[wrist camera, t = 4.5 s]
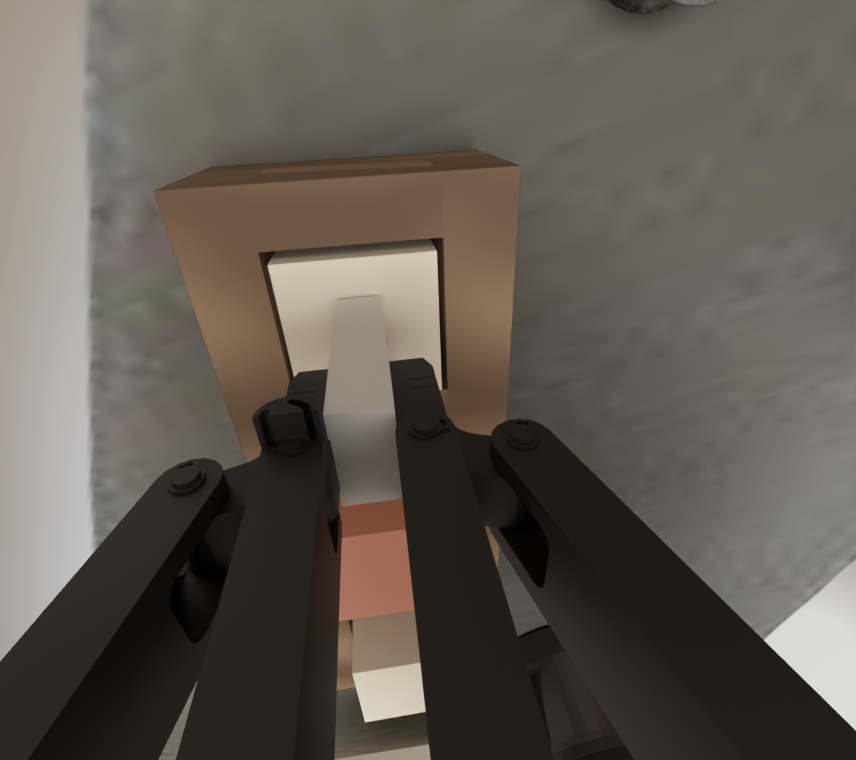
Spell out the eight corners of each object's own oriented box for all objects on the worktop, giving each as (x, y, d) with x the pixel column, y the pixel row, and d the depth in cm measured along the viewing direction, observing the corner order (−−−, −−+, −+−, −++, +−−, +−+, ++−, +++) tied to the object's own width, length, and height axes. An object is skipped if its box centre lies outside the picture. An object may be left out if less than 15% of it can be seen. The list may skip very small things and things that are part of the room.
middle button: (442, 529, 24) (457, 603, 21) (341, 543, 24) (338, 621, 20) (439, 452, 21) (455, 522, 18) (324, 467, 21) (317, 541, 17)
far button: (447, 633, 29) (459, 706, 26) (364, 646, 29) (365, 722, 25) (445, 582, 27) (458, 656, 23) (352, 596, 26) (352, 674, 22)
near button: (427, 342, 21) (441, 390, 17) (310, 353, 21) (300, 405, 17) (421, 222, 18) (436, 250, 15) (285, 233, 18) (267, 265, 14)
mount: (473, 582, 35) (492, 663, 30) (330, 604, 34) (325, 691, 29) (477, 150, 19) (520, 165, 14) (210, 167, 18) (153, 190, 13)
